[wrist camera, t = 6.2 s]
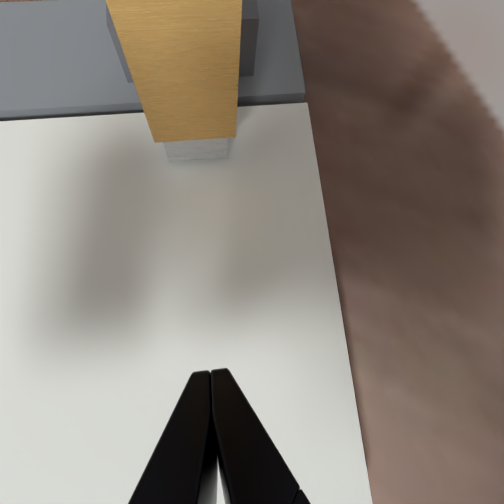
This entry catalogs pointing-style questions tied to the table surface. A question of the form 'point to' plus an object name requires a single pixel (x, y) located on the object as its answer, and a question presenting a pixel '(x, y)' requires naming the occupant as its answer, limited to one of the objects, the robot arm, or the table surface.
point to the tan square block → (184, 70)
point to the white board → (159, 265)
